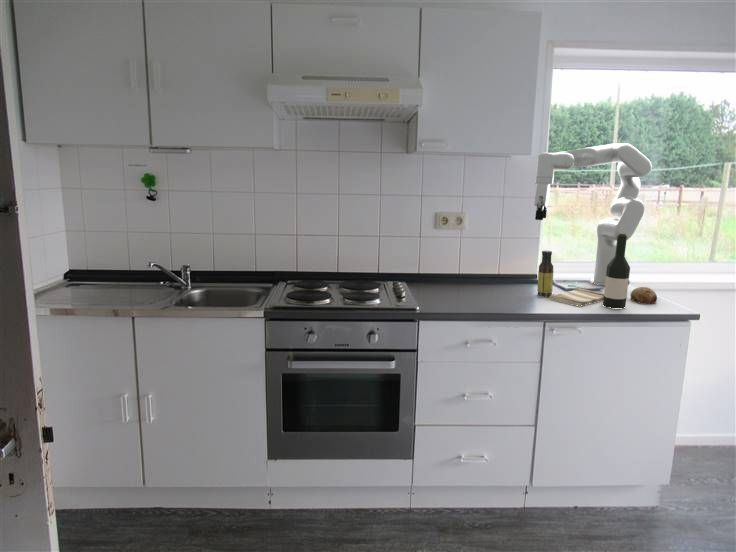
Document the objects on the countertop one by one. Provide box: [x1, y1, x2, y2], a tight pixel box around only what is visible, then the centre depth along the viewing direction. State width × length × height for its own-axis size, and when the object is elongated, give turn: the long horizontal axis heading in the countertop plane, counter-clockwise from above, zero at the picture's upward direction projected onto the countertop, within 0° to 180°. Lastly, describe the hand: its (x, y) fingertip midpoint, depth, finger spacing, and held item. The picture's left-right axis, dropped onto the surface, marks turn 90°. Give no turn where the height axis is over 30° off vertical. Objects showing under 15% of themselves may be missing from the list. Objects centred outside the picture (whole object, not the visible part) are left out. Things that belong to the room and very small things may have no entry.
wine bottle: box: [602, 233, 631, 309], centre depth 203 cm, size 8×8×30 cm
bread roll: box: [630, 286, 658, 305], centre depth 215 cm, size 10×10×8 cm
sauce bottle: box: [537, 250, 554, 298], centre depth 221 cm, size 6×6×20 cm
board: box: [549, 287, 604, 307], centre depth 217 cm, size 22×14×2 cm, turn 125°
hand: (540, 218), depth 232 cm, fingers open, 9 cm apart
